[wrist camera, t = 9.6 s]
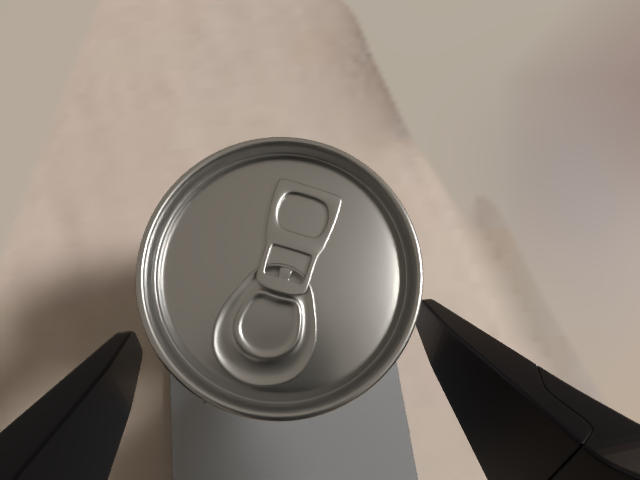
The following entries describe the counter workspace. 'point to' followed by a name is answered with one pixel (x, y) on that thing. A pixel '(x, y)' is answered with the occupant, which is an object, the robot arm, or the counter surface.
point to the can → (279, 279)
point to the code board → (294, 440)
